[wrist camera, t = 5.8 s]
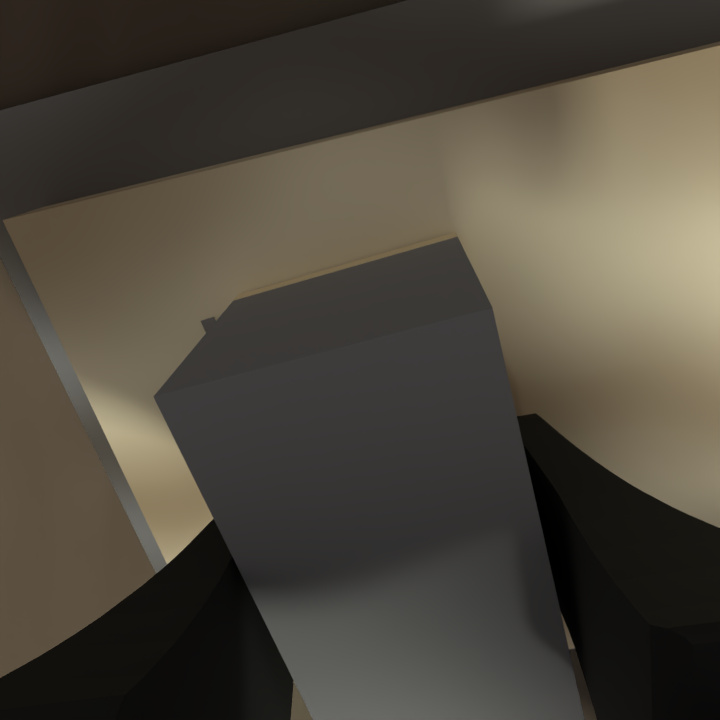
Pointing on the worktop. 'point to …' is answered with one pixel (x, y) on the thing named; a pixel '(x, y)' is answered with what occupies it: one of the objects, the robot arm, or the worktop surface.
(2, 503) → the worktop surface
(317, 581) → the block
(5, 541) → the worktop surface
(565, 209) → the pine board
